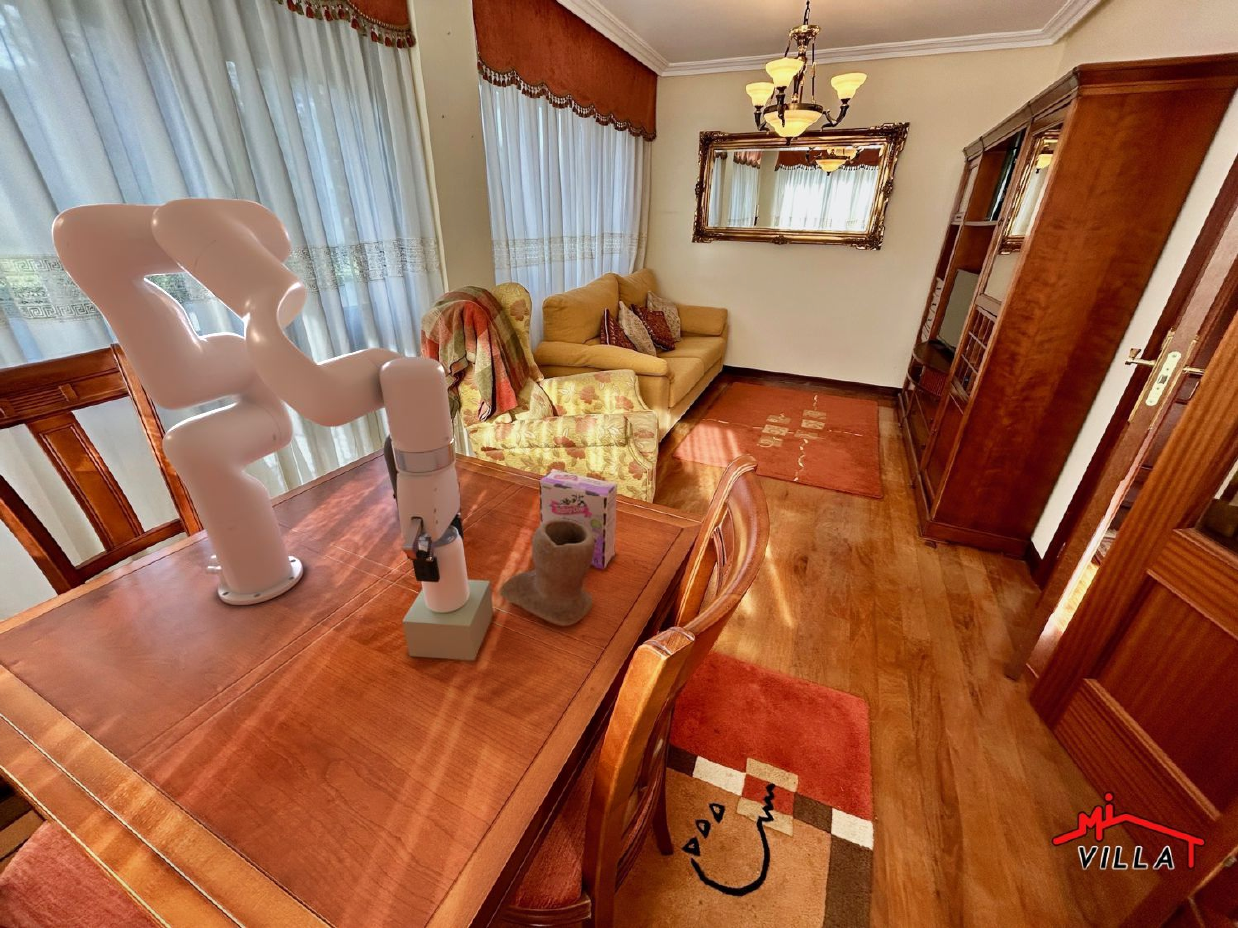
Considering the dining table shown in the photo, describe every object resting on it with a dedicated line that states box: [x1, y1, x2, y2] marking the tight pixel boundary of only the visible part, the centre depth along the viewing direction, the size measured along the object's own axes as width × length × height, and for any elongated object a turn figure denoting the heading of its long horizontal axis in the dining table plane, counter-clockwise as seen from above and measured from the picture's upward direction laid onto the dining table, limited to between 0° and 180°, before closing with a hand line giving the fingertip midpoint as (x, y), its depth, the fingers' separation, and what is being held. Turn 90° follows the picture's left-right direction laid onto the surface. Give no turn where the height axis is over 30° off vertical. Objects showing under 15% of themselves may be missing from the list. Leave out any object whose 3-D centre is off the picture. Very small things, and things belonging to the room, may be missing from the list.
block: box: [401, 579, 494, 661], centre depth 78 cm, size 10×10×7 cm
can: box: [419, 525, 469, 613], centre depth 74 cm, size 6×6×12 cm
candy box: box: [538, 468, 618, 570], centre depth 96 cm, size 14×6×16 cm, turn 68°
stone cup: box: [498, 519, 595, 627], centre depth 84 cm, size 15×12×15 cm
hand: (441, 558), depth 73 cm, fingers open, 9 cm apart
